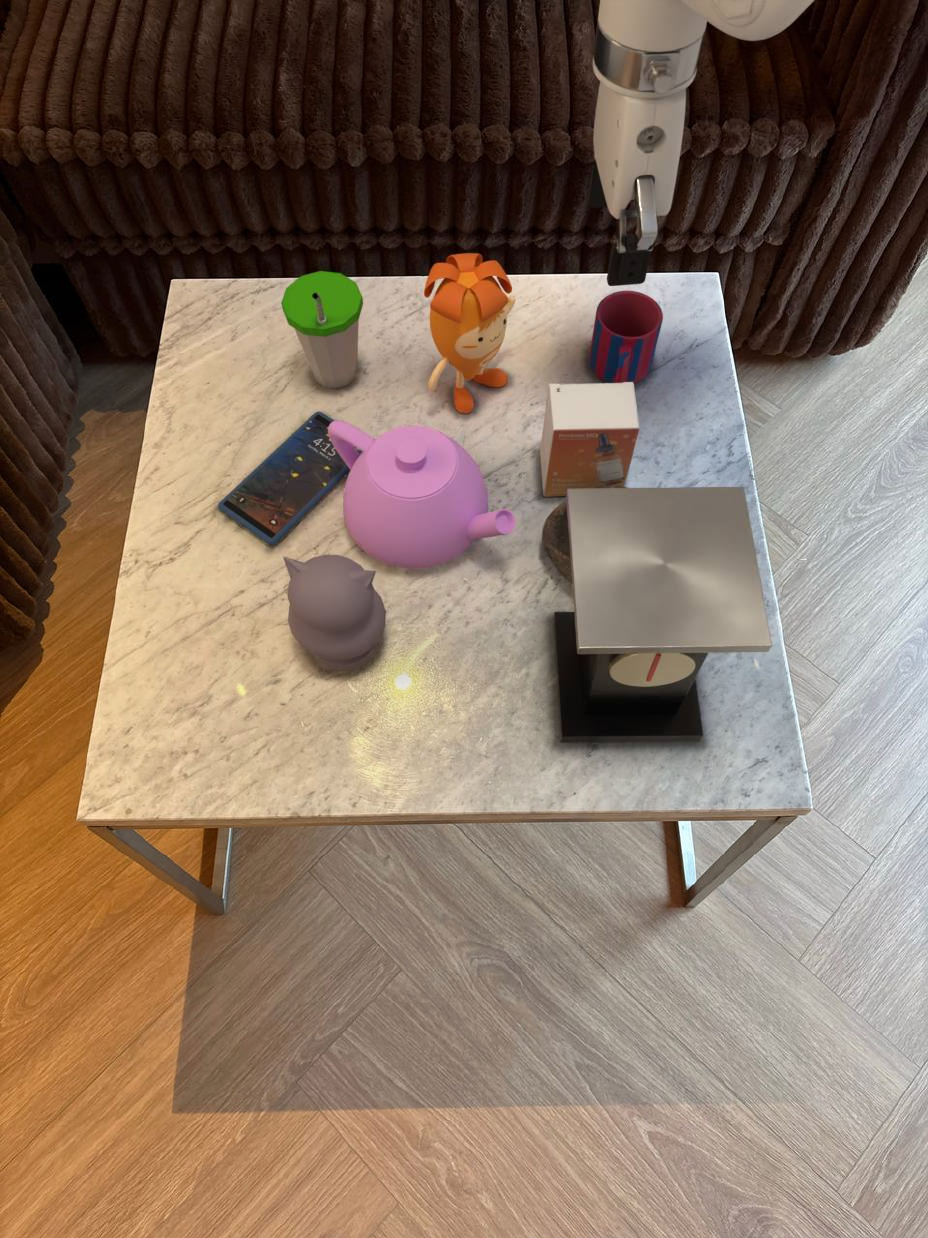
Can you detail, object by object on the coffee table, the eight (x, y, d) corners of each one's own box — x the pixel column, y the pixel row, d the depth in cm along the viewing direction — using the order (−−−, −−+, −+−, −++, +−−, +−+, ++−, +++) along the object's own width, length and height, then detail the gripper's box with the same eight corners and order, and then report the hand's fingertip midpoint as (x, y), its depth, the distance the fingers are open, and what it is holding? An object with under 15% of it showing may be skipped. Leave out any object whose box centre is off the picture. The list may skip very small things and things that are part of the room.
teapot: (472, 622, 87) (472, 563, 77) (299, 523, 92) (279, 456, 82) (548, 516, 92) (557, 448, 83) (380, 428, 97) (371, 355, 88)
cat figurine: (287, 671, 85) (260, 609, 74) (308, 595, 88) (286, 525, 77) (380, 686, 84) (367, 625, 73) (398, 609, 87) (388, 540, 77)
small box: (542, 498, 93) (550, 430, 84) (539, 452, 96) (546, 381, 86) (623, 496, 93) (641, 428, 84) (618, 451, 96) (634, 379, 86)
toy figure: (453, 436, 97) (450, 328, 83) (401, 393, 99) (390, 282, 86) (534, 374, 100) (543, 261, 87) (481, 334, 103) (483, 219, 90)
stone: (685, 572, 89) (696, 544, 85) (595, 630, 86) (602, 604, 82) (610, 491, 93) (617, 460, 89) (522, 543, 91) (525, 514, 86)
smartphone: (214, 504, 92) (317, 408, 97) (216, 509, 92) (318, 413, 98) (272, 545, 90) (374, 444, 95) (273, 549, 90) (374, 449, 96)
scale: (688, 613, 87) (744, 486, 69) (706, 747, 81) (772, 646, 63) (547, 614, 87) (567, 488, 69) (554, 748, 81) (578, 648, 63)
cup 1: (322, 336, 103) (300, 221, 90) (385, 360, 101) (372, 247, 88) (284, 385, 100) (255, 274, 86) (348, 411, 98) (329, 302, 85)
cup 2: (656, 345, 102) (668, 297, 96) (638, 415, 98) (650, 369, 92) (595, 332, 103) (603, 284, 97) (575, 402, 99) (582, 355, 92)
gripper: (727, 120, 63) (677, 311, 79) (674, -26, 71) (639, 173, 87) (616, 128, 63) (588, 318, 78) (576, -20, 71) (558, 179, 86)
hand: (615, 242), depth 82 cm, fingers open, 9 cm apart
